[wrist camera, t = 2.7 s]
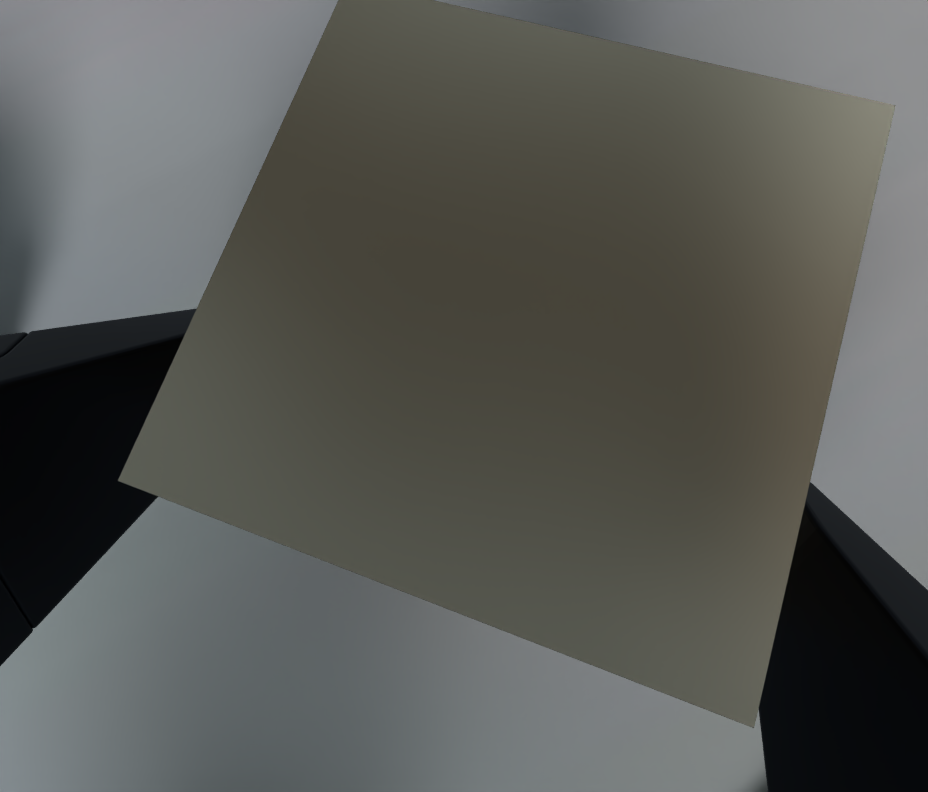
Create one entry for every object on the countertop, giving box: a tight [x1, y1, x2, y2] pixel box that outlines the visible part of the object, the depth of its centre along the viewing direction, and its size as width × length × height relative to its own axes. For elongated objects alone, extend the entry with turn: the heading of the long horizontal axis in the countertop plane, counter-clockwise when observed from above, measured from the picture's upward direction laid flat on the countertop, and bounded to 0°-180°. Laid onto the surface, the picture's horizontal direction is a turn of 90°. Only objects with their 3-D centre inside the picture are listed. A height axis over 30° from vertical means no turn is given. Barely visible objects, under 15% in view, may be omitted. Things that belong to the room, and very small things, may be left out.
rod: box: [118, 0, 895, 728], centre depth 10 cm, size 4×4×13 cm
